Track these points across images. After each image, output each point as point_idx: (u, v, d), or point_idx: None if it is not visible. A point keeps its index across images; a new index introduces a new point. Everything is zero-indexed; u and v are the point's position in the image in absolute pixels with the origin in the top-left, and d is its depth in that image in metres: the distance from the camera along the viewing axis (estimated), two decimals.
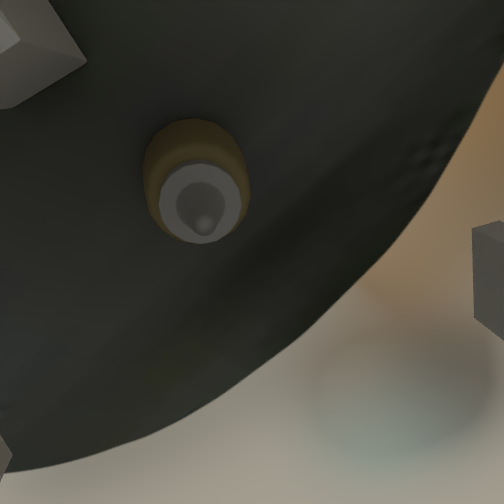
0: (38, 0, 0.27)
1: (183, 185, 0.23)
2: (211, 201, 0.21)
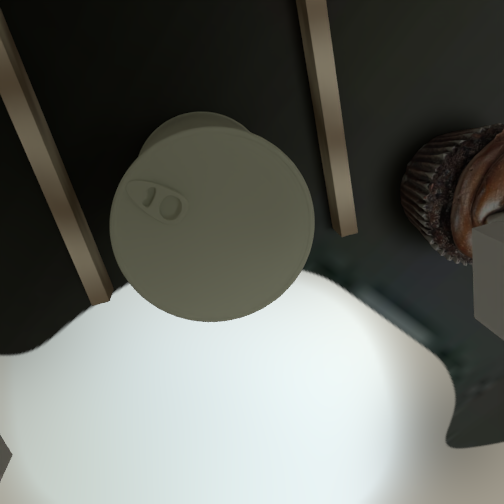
0: None
1: None
2: None
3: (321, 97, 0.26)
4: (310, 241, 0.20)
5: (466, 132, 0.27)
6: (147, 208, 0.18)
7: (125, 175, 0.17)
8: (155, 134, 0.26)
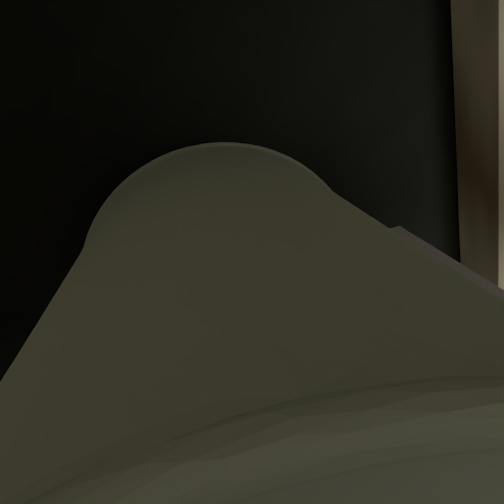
0: None
1: None
2: None
3: (500, 111, 0.12)
4: None
5: None
6: None
7: None
8: (118, 200, 0.11)
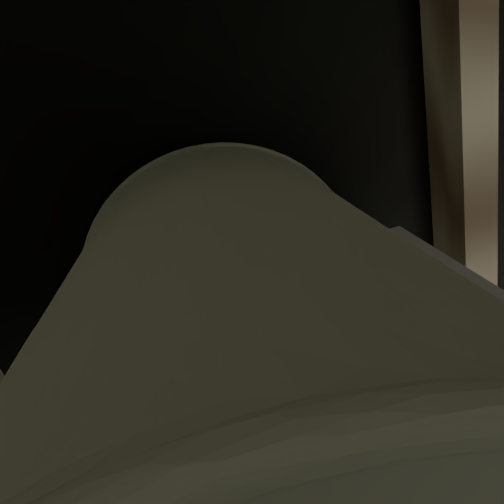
0: None
1: None
2: None
3: None
4: None
5: None
6: None
7: None
8: (118, 200, 0.11)
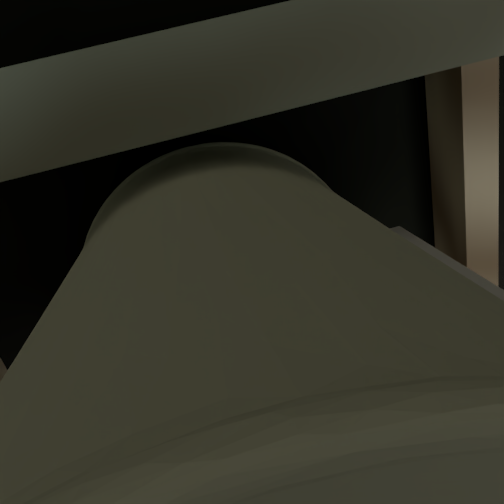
0: None
1: None
2: None
3: None
4: None
5: None
6: None
7: None
8: (118, 199, 0.11)
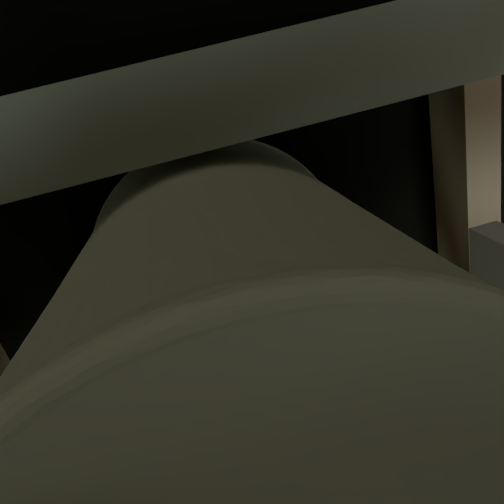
0: None
1: None
2: None
3: None
4: None
5: None
6: None
7: None
8: (125, 186, 0.12)
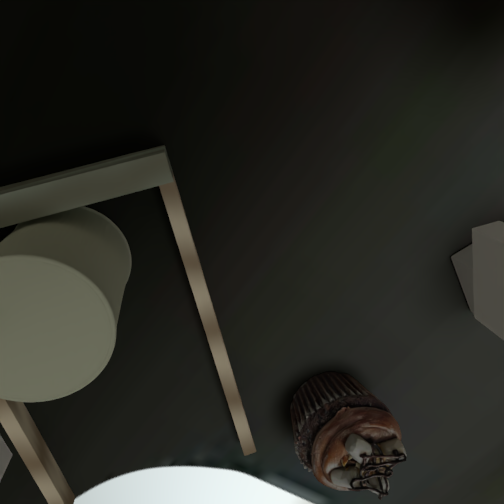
0: None
1: None
2: None
3: (220, 377, 0.38)
4: (113, 335, 0.24)
5: (325, 393, 0.39)
6: None
7: None
8: None
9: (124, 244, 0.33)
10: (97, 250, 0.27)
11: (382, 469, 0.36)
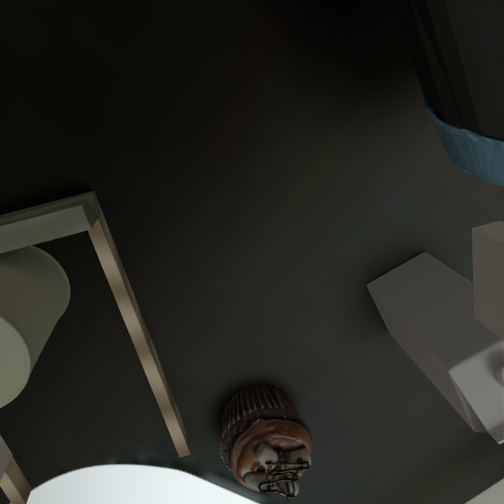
0: None
1: None
2: None
3: (152, 389, 0.43)
4: (27, 363, 0.29)
5: (248, 405, 0.43)
6: None
7: None
8: None
9: (61, 275, 0.38)
10: (24, 288, 0.32)
11: (290, 475, 0.40)
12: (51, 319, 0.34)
